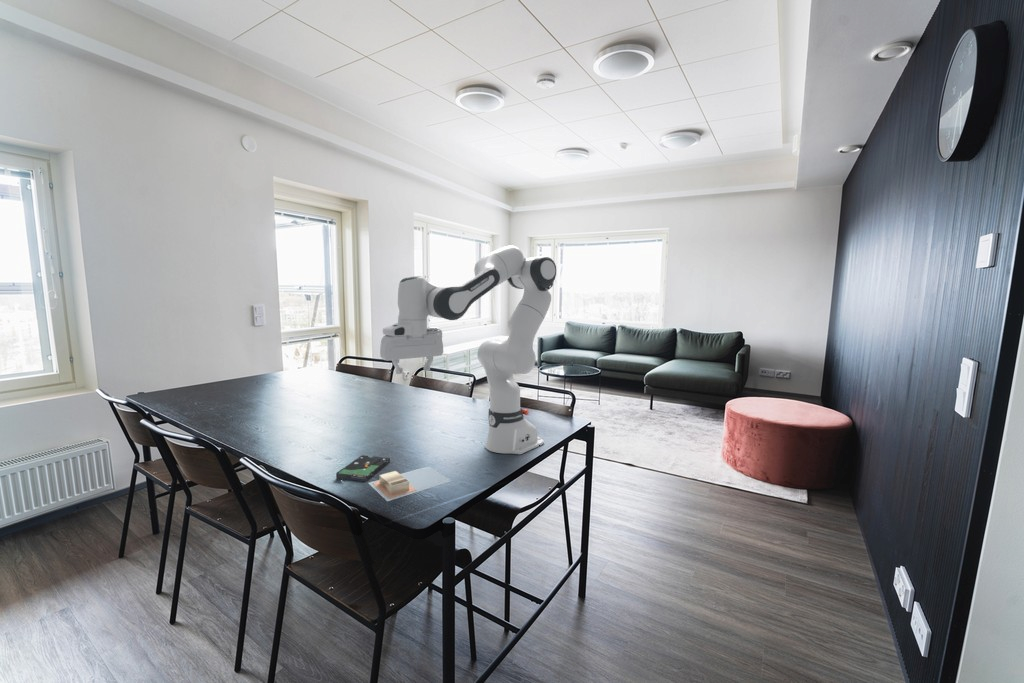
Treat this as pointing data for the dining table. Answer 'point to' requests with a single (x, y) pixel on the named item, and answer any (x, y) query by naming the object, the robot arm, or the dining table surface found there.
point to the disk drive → (362, 468)
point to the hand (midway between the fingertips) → (413, 372)
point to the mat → (413, 482)
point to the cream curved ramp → (394, 482)
